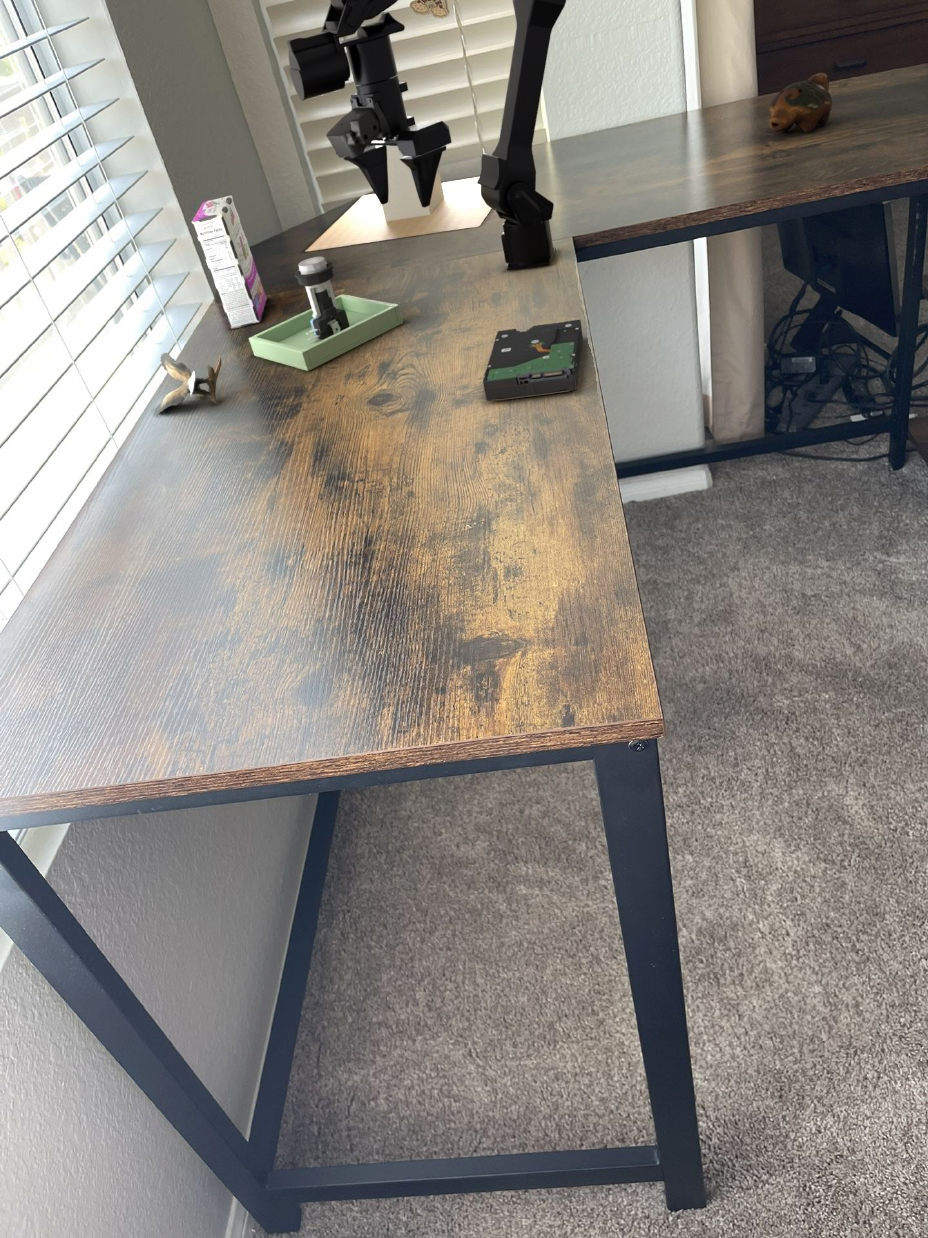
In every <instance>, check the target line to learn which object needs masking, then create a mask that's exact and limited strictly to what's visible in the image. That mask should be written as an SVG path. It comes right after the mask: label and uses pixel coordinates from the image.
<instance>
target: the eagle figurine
mask: <svg viewBox="0 0 928 1238" xmlns="http://www.w3.org/2000/svg"><path fill="white" fill-rule="evenodd" d="M159 361H160V363H161V366H162V367H163V369H164V370H165V371H166V373H167V374H169V375H170V377H172V378H173V379H174V380H176V381H178V382H181V383H182V385H181V386H180V387H178V388H177V389H174V390H172V391H170V392H169V393H167V394H166V395H165V397H164V398H163V400H162V403H161V405H160V406H158V408H157V409H156V411H157V413H158V414H159V413H162V412H164V411H165V410H166V409H168V408H169V407H172V406H178V405H179V404H181V403H183V402H184V400H185V399H186V397H187V396H188V394H190V397H192V396H193V395H194V396H195V397H200V398H202V397H203V396H207V397H208V396H209V398H210V399H211V401H212V402H213V403H215V404H218V399H217V392H216V390H217V381H218V377H219V374H220V370H221V367H222V357H220V358H218V362H217V364H216V367H215V369H214V367H213V366H210V365H207V366H206V369H207V374H208V375H207V376H206V377H205V378H203V377H197V374H196V371H195V370H193V371H192V373H191V369H190V368H188V366H187V365H186V364H184V363H183V362H182V361H177V360H175V359H174V358H172V356H171V355H170V353H169V352H162V354H160V360H159ZM202 384H206V385H207V386H208V390H206V389H203V388H201V385H202Z"/></svg>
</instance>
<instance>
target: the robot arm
mask: <svg viewBox="0 0 928 1238" xmlns="http://www.w3.org/2000/svg"><path fill="white" fill-rule="evenodd" d="M398 1H399V0H330V4H329V7H328V9H327V13H326V15H325V16H326V17H325V19H324V23H323V26H322V29H321V32H319V33H314V34H311V35H308V36H304V37H293V38H289V39H287V40H286V45H287V49H288V64H289V69H288V70H289V75H290V79H291V81H292V85H293V87H294V90H295V93H296V94H297V97H298V98H299V99H300V100H301V102H304V101H308V100H311V99H315V98H318V97H321V96H322V97H323V96H325V95H329V94H333V93H336V92H339V91H343V90H344V89H345V88H346V82H348V81H349V80H350V78H351V74H352V79H353V83H354V87H355V91H356V93H353V94H350V99H349V103H350V107H351V110H350V111H348V113H346V114H345V115H344V116H342V117H341V118H340V119H339V120H338V121H337V122H336V123H335V124H334V125H333V126H332V127H331V128H330V129H329V130H328V131H327V133H326V135H325V137H326V138H327V140H328V141H329V143H330V145H331V146H332V148H333V150H334V152H335V154H336V155H337V156H338V158H340V159H343V160H344V161H347V162H349V163H351V164H352V165H354V166H356V167H358V168H359V170H360V171H361V174H363V176H364V177H365V179H366V181H367V182H368V184H369V186H370V188H371V190H372V191H373V194H375V195H376V196H377V198H378V200H379V202H380V203H381V204H386V203H388V193H389V189H388V166H387V146H398V150H399V151H400V152H401V153H402V155H403V156H406V157H403V158H401V159H400V160H401V161H402V162H403V163H404V164H405V165H407V166H408V167H409V168H410V170H411V173H412V176H413V180H414V183H415V187H416V190H417V194H418V197H419V200H420V202H421V205H422V207H424V208H425V207H427V206H429V205H430V201H431V197H432V192H433V187H434V182H435V177H436V173H437V169H438V168H439V166H440V162H441V159H442V155H443V152H445V151H447V145H449V144H452V141H453V140H452V136H451V131H450V126H449V125H448V124H447V123H446V122H444V120H424V121H422V122H418V123H416V120H415V116H413V115H412V116H411V115H409V116H408V115H407V110H406V105H405V101H404V96H403V93H405V92H408V91H409V87H408V82H407V81H400V77H399V73H398V68H397V64H396V58H395V54H394V49H393V45H392V40H391V36H390V35H394V34H397V33H402V32H404V31H405V28H406V26H405V25H404V24H403V23H401V22H400V21H398V20H397V19H395V17H393V16H392V15H391V13H390V12H387V10H388V9H389V8H390V7H392V6H393V5H395V4H397V2H398ZM566 3H567V0H512V7H513V11H514V18H515V22H516V23H515V24H516V27H515V35H514V41H513V48H512V54H511V61H510V67H509V73H508V81H507V86H506V93H505V100H504V106H503V107H504V108H503V111H502V119H501V125H500V126H501V127H500V132H499V138H498V142H497V143H496V146H495V148H494V149H493V152H492V154H490V153H485V152H483V153H481V160H480V162H481V163H480V164H481V169H480V174H479V176H478V177H479V179H478V181H477V184H480V185H481V196H482V198H483V200H484V201H485V203H486V204H487V205H488V206H489V207H490V208H492V209H491V210H495V212H496V214H497V216H498V217H499V219H501V220H504V222H503V224H502V230H503V232H502V233H501V236H500V238H501V244H502V245H501V246H502V250H503V256H504V261H505V262H504V263H506V264H507V265H506V270H507V271H514V270H515V271H516V270H522V269H529V268H530V269H531V268H538V267H545V266H550V265H551V263H552V261H553V259H554V257H555V255H556V253H557V248H556V247H554V245H553V238H552V229H551V224H550V220H552V219H553V214H554V213H553V212H554V207H555V206H554V202H553V201H551V200H550V199H548V198H546V197H545V196H544V195H542V194H541V193H540V192H538V191H537V190H536V189H537V185H536V184H537V168H536V162H535V158H534V153H533V143H534V136H535V130H536V125H537V119H538V113H539V106H540V100H541V95H542V90H543V89H542V88H543V83H544V76H545V71H546V64H547V59H548V54H549V46H550V42H551V35H552V31H553V29H554V27H555V25H556V23H557V21H558V20H559V17H560V16H561V14H562V12H563V10H564V8H565V6H566ZM379 15H380V16H379ZM378 16H379V19H378V20H377V21H374V22H371V23H367V24H363V23H364V22H365V21H369V20H373V19H375V18H377V17H378ZM362 24H363V25H362ZM355 34H356V36H353V35H355ZM349 36H352V37H350V38H347V39H343V40H340V39H342V38H345V37H349ZM408 127H409V128H408ZM384 137H385V138H384Z"/></svg>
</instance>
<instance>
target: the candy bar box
mask: <svg viewBox="0 0 928 1238" xmlns="http://www.w3.org/2000/svg"><path fill="white" fill-rule="evenodd" d="M191 224H192V227H193V229H194V232H195V234H196V235H195V236H196V237H197V241H198V243H199V246H200V249H201V251H202V254H203V256H204V260H205V262H206V265H207V267H208V270H209V272H210V275H211V277H212V280H213V283H214V286H215V288H216V292H217V294H218V297H219V299H220V302H221V305H222V308H223V311H224V313H225V316H226V319H227V322H228V324H229V327H230V329H239V328H242V327H248V326H251V325H254V324H259V323H261V320H262V317H263V313H264V309H265V306H266V303H267V300H268V298H267V295H266V292H265V289H264V287H263V286H264V285H263V283H262V280H261V277H260V275H259V271H258V268H257V266H256V263H255V259H254V256H253V254H252V251H251V249H250V248H251V247H250V244H249V242H248V239H247V235H246V233H245V230H244V228H243V224H242V222H241V219H240V215H239V213H238V210H237V207H236V204H235V201H234V198H233V195H227V196H222V197H218V198H214V199H209V200H206V201H204V202H202V203H201V205H200V207H199V209H198V211H197V212H196V214H195V216H194V217H193V219H192V221H191Z"/></svg>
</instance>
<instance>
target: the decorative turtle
mask: <svg viewBox="0 0 928 1238" xmlns="http://www.w3.org/2000/svg"><path fill="white" fill-rule="evenodd" d="M829 89H830V79H829V76H828V75H827V74H826V73H825V72H818V73H814V74H813V75H811V76H809V78H808V79H807V80H801V81H797V82H794V83H791V84H790V85H788V86H786V87H784V88H783V89H782V90H780V91H778V93H777V94H776V95H775V96H774V97H773V99H772V100H771V101H770V103H769V106H768V113H769V115H770V116H771V117H770V119H769V120H768V125H769V128H770V130H772V131H774V132H778V133H782V134H786V133H787V132H788V131H789V130H790V129H792V127H793V126H794V125H795V126H797V127H798V126H799V127H800V128H801V129H802V130H803V131H804V132H805V133H811V132H812V131H813V130H814V128H816V126H817V125H818V126H820V127H822V126H823V127H824V126H825V125H826V124H827V123H828V122H829V118H830V115H831V110H832V106H833V99H832V96H831V94H830V92H829V91H830V90H829Z"/></svg>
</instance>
